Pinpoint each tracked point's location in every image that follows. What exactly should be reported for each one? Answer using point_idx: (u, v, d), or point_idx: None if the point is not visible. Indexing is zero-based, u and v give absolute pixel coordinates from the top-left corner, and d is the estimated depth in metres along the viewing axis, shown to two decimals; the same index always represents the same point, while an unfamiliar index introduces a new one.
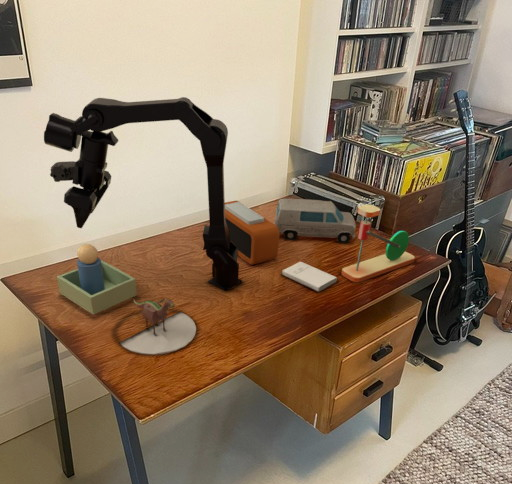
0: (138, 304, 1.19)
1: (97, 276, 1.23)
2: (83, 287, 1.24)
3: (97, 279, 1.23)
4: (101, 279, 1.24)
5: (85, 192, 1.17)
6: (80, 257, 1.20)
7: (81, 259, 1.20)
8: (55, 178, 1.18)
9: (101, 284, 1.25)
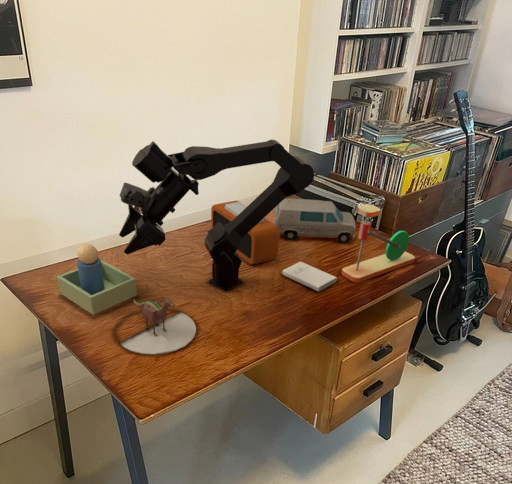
0: (138, 304, 1.19)
1: (97, 276, 1.23)
2: (83, 287, 1.24)
3: (97, 279, 1.23)
4: (101, 279, 1.24)
5: (159, 227, 1.16)
6: (80, 257, 1.20)
7: (81, 259, 1.20)
8: (131, 201, 1.13)
9: (101, 284, 1.25)
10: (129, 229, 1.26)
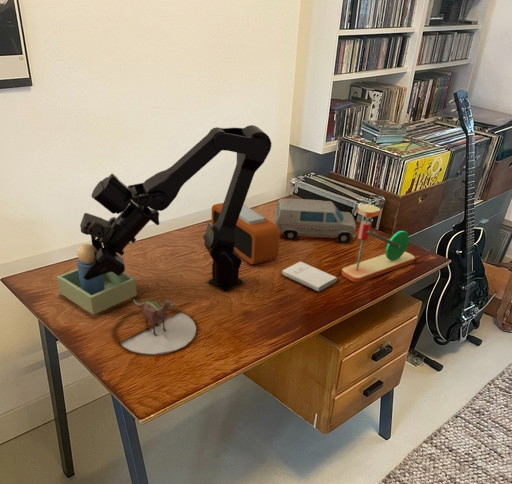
0: (138, 304, 1.19)
1: (97, 276, 1.23)
2: (83, 287, 1.24)
3: (97, 279, 1.23)
4: (101, 279, 1.24)
5: (118, 257, 1.17)
6: (80, 257, 1.20)
7: (81, 259, 1.20)
8: (90, 233, 1.14)
9: (101, 284, 1.25)
10: None
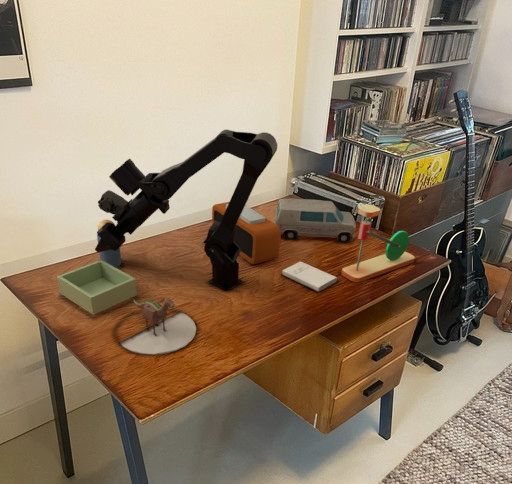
0: (138, 304, 1.19)
1: None
2: None
3: (109, 252, 1.37)
4: (114, 253, 1.37)
5: (118, 234, 1.28)
6: (98, 229, 1.34)
7: None
8: (100, 207, 1.28)
9: (114, 258, 1.38)
10: None
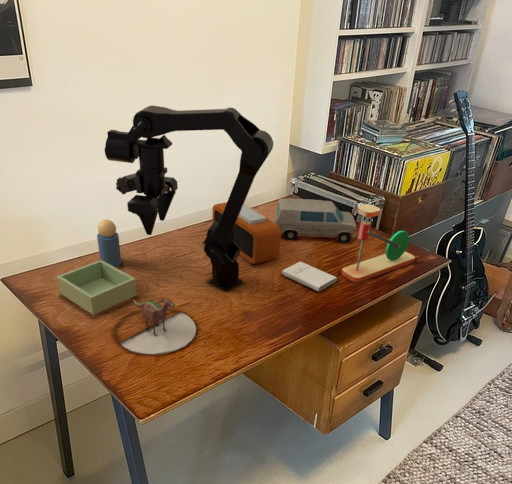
0: (138, 304, 1.19)
1: (109, 249, 1.36)
2: None
3: (109, 252, 1.37)
4: (114, 253, 1.37)
5: (146, 198, 1.21)
6: (98, 229, 1.34)
7: (98, 231, 1.35)
8: (120, 190, 1.24)
9: (114, 258, 1.38)
10: (163, 211, 1.35)
